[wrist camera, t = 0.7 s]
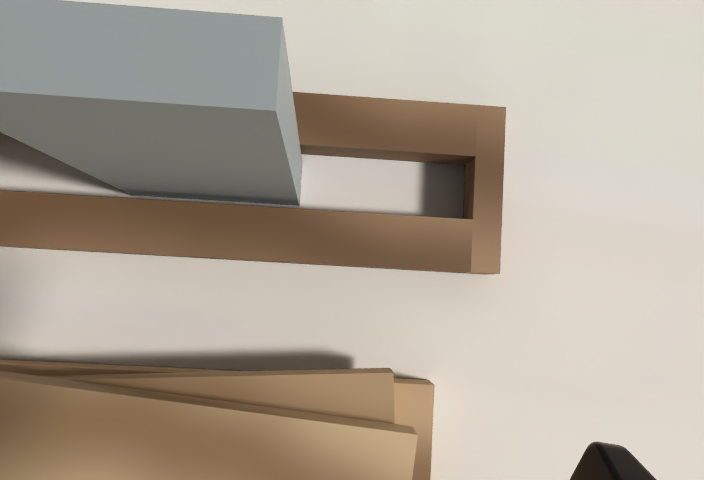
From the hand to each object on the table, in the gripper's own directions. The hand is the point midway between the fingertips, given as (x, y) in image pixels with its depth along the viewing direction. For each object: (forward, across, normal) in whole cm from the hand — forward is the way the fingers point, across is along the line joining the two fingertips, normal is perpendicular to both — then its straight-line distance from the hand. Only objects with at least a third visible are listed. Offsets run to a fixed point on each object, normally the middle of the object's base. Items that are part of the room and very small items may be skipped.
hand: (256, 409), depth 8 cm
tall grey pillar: (+14, +4, +4) cm, 15 cm away
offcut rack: (+12, +3, +7) cm, 14 cm away
